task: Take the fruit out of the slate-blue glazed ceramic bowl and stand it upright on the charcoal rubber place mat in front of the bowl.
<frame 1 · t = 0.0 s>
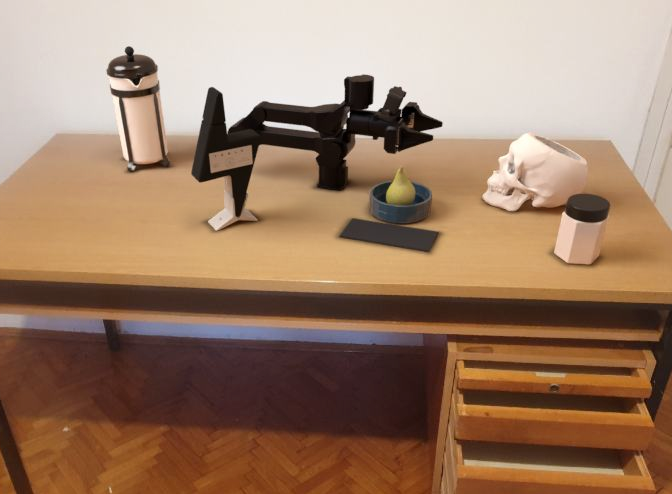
hand: (437, 131, 159), 17 cm above the table, tool horizontal, fingers open, 9 cm apart
place mat: (388, 235, 155), on the table
jar: (575, 255, 146), on the table
bowl: (399, 210, 164), on the table
skull planter: (530, 204, 166), on the table
coffee press: (145, 161, 193), on the table
fruit: (399, 210, 164), resting on bowl
award: (231, 222, 162), on the table
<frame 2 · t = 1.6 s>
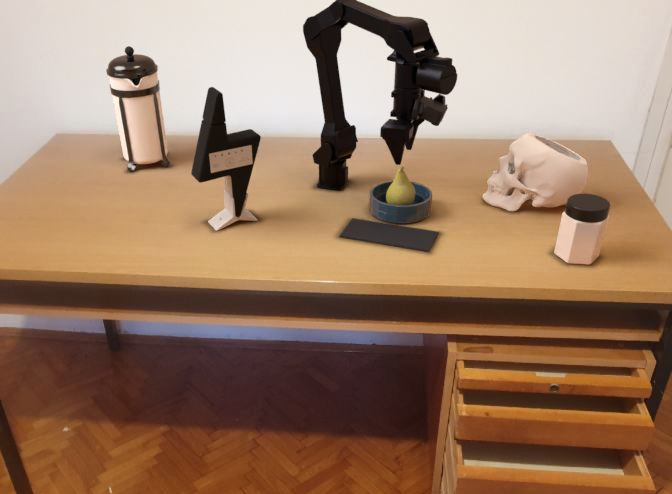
hand: (403, 156, 156), 13 cm above the table, tool pointing down, fingers open, 9 cm apart
nothing on the table moved.
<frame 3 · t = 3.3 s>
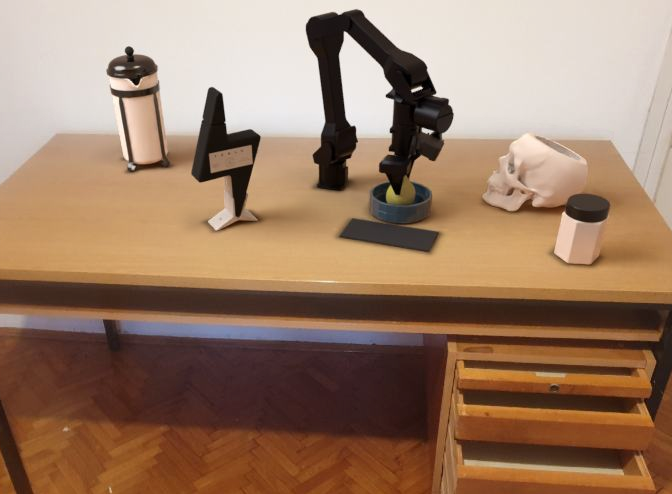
hand: (401, 188, 161), 5 cm above the table, tool pointing down, fingers closed on fruit, 6 cm apart
fruit: (399, 210, 164), resting on bowl, touching gripper
everything else where it was.
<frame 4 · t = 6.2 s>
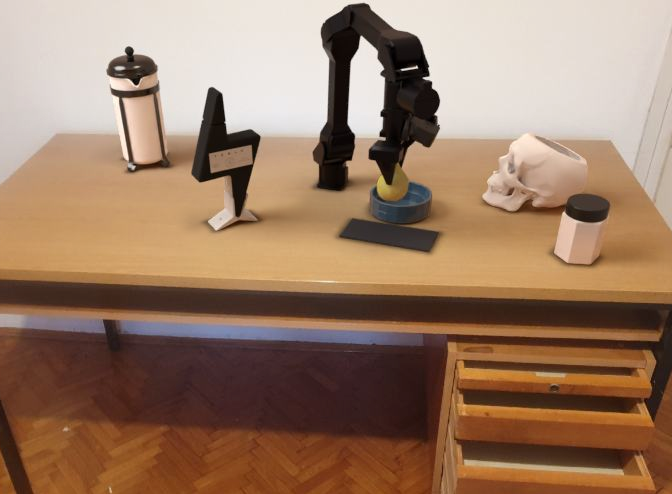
hand: (393, 178, 148), 13 cm above the table, tool pointing down, fingers closed on fruit, 6 cm apart
fruit: (391, 201, 151), point 7 cm above the table, touching gripper
everything else where it was.
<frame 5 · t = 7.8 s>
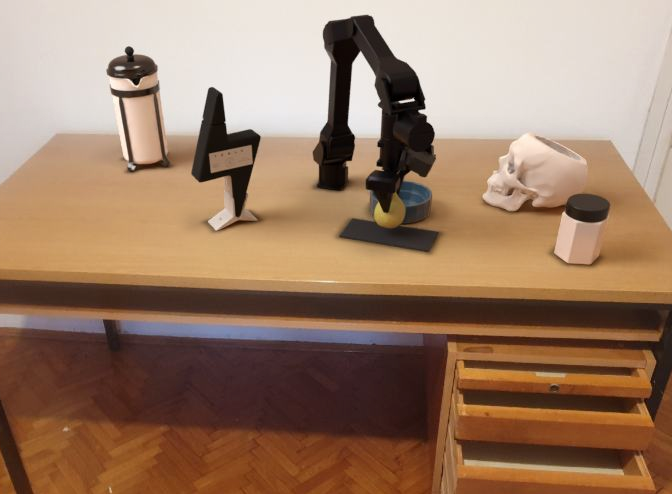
hand: (390, 205, 151), 7 cm above the table, tool pointing down, fingers closed on fruit, 6 cm apart
fruit: (388, 228, 153), point 2 cm above the table, touching gripper
everything else where it was.
when the fingers open (5 cm above the table, at t = 8.9 s): fruit stays where it is, resting on place mat.
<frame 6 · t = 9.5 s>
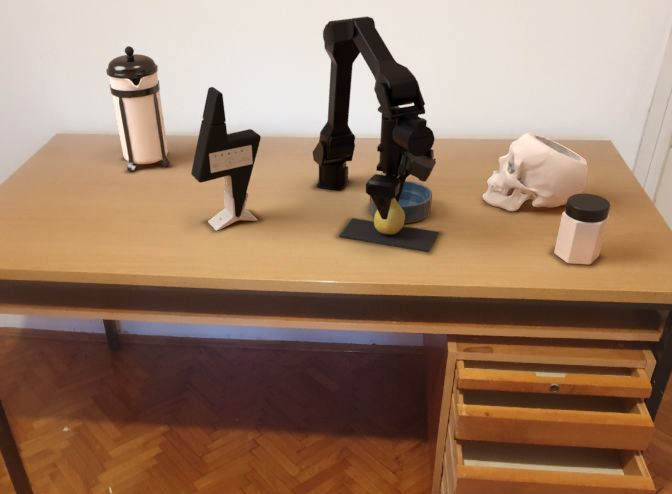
hand: (390, 209, 151), 6 cm above the table, tool pointing down, fingers open, 9 cm apart
fruit: (388, 234, 154), resting on place mat
everything else where it was.
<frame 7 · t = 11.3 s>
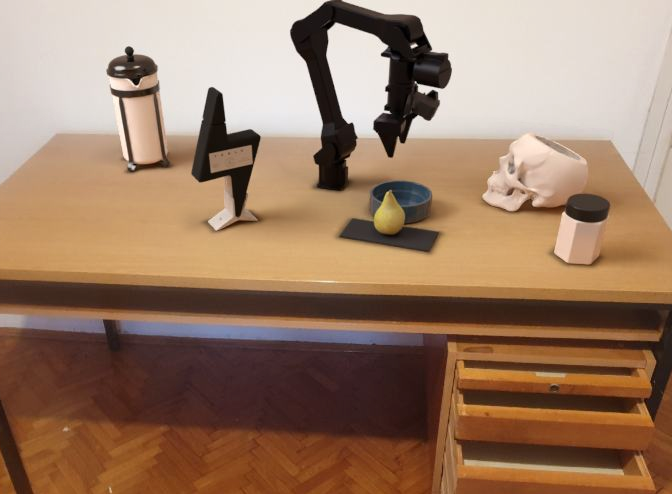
hand: (396, 150, 160), 13 cm above the table, tool pointing down, fingers open, 9 cm apart
nothing on the table moved.
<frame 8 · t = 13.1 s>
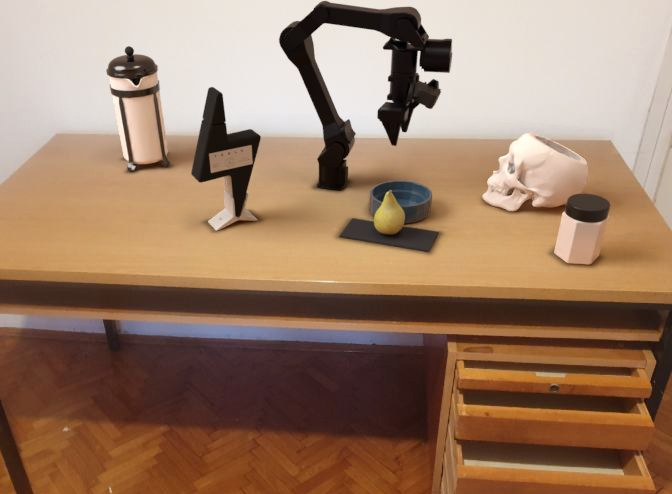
hand: (399, 138, 166), 13 cm above the table, tool pointing down, fingers open, 9 cm apart
nothing on the table moved.
at the end: fruit inside the target area (0.2 cm from its centre), resting on place mat; fruit tilted 0°; the gripper is holding nothing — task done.
